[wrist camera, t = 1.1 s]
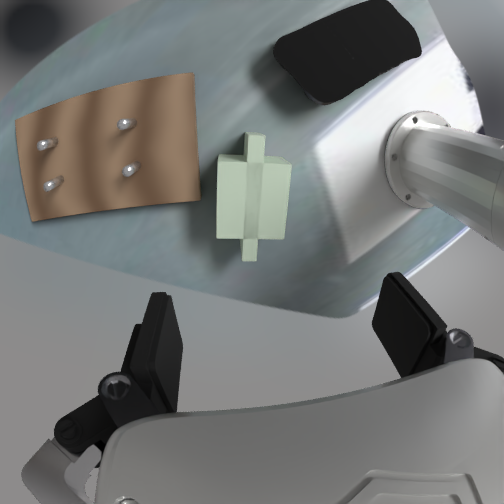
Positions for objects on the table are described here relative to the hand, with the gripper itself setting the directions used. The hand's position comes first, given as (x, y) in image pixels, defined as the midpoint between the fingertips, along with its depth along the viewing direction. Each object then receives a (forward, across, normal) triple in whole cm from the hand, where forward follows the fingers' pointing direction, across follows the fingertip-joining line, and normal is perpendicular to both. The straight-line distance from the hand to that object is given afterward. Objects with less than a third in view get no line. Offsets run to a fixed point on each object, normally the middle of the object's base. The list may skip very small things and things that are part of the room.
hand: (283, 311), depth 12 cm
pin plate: (+20, +16, -6) cm, 26 cm away
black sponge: (+20, -11, -16) cm, 28 cm away
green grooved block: (+20, 0, 0) cm, 20 cm away
